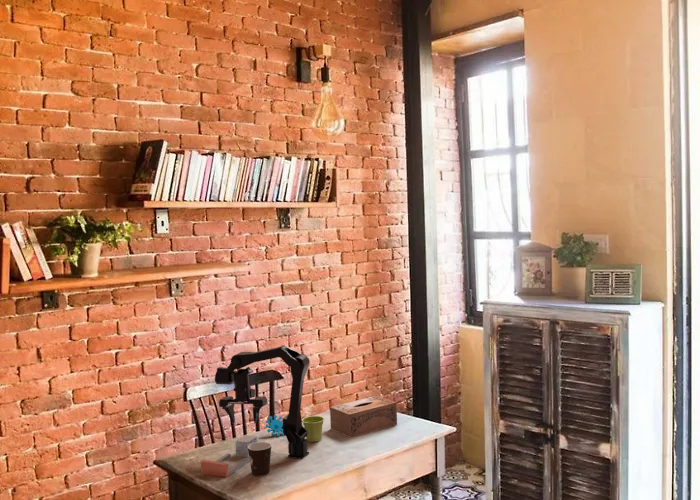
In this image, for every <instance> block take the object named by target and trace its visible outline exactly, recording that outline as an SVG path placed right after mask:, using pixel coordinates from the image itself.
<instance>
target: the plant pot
mask: <svg viewBox="0 0 700 500" xmlns="http://www.w3.org/2000/svg"><path fill="white" fill-rule="evenodd" d="M324 421H325V417H323V416H318V415H311V416H306V417H304V418H302V426H303V427H304V428H305V429H306V430H307V431H308V434H307V437H305V439H307V442H310V443H311V442H312V443H314V442H319V441H322V434H323V425H324Z"/></svg>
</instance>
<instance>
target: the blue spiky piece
mask: <svg viewBox="0 0 700 500" xmlns="http://www.w3.org/2000/svg"><path fill="white" fill-rule="evenodd" d="M273 418H274V419H273ZM265 423H266V424H265V429H267V433H271V436H273V437H274V436H276V437H278V438H279V437H280V436H285V435H284V434H283V429H281V428H282V426H283V416H282V415H279V417H278V415H276V414H274V415H273V416H269V417H268V419H266V420H265ZM280 433H281V434H280ZM275 434H276V435H275Z"/></svg>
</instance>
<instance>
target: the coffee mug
mask: <svg viewBox="0 0 700 500" xmlns="http://www.w3.org/2000/svg"><path fill="white" fill-rule="evenodd" d="M248 452H249V459H250V461H249V463H250V470H251V475H252V476H254V477H263V476H267V475H268V474H270V470H271V468H270V467H271V455H272V454H271V453H272V444H271V443H270V442H265V441H257V442H256V443H252V444H250V445H249V446H248Z"/></svg>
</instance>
